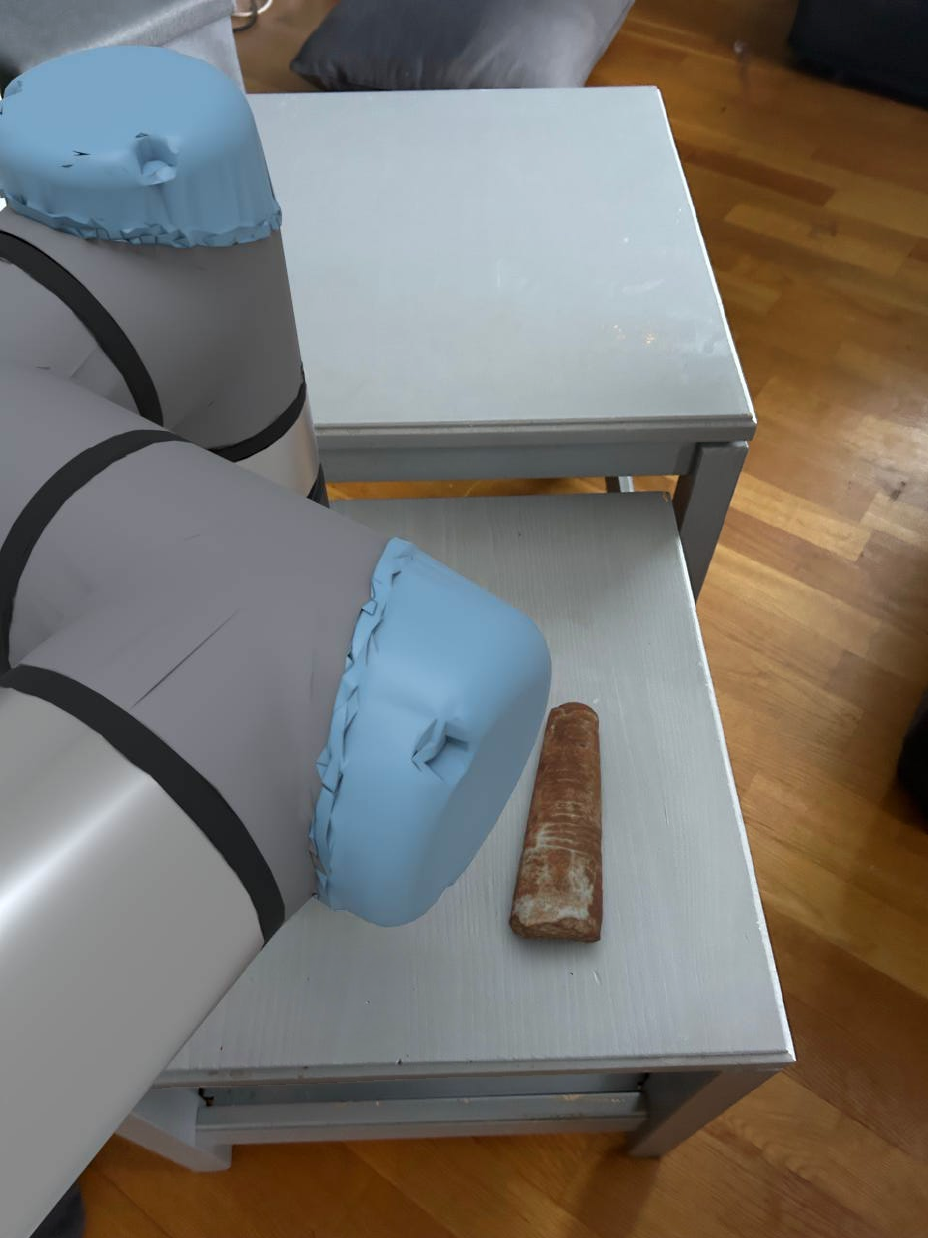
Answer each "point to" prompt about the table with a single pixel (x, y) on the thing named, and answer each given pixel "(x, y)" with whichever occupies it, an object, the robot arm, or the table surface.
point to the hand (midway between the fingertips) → (304, 726)
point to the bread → (563, 835)
